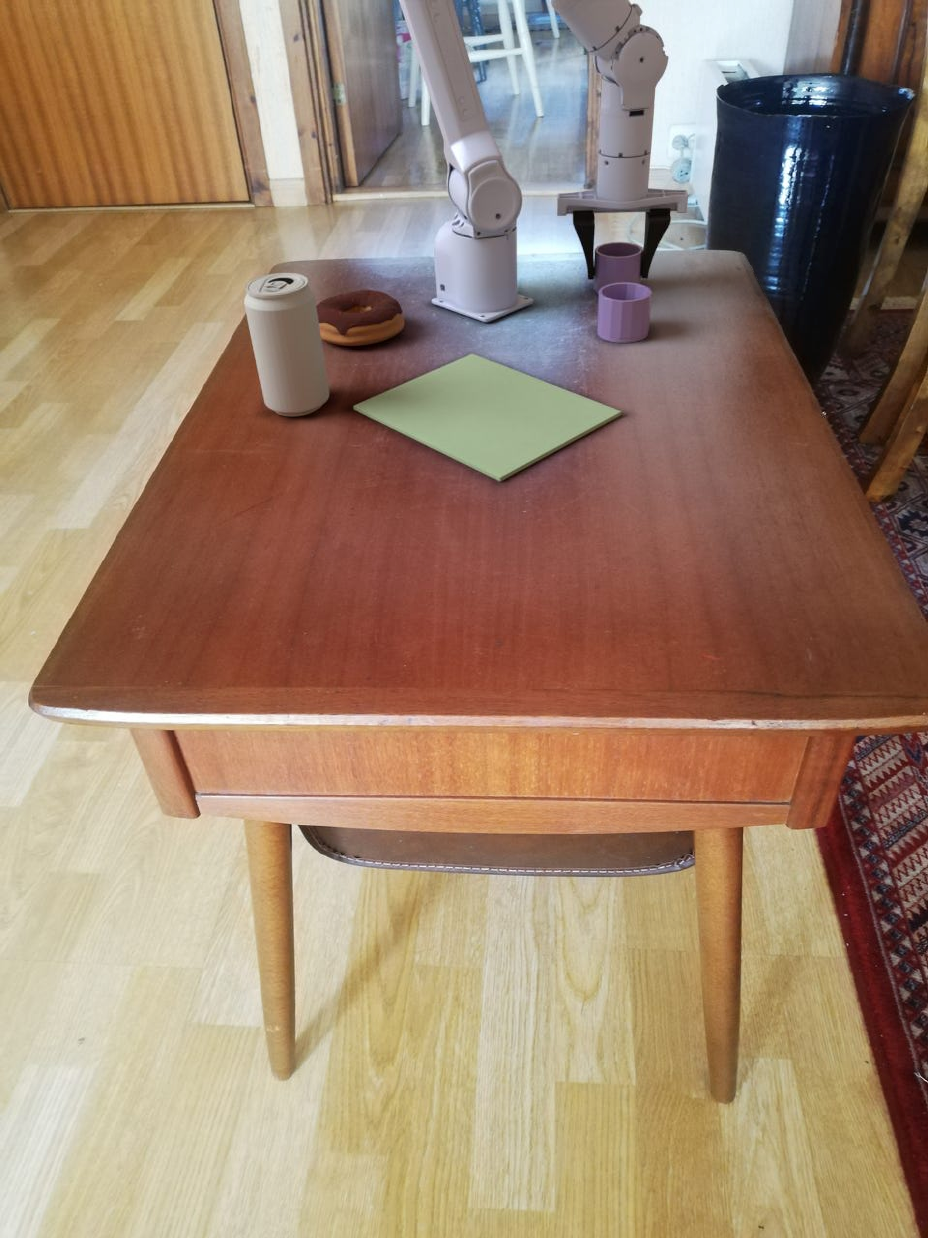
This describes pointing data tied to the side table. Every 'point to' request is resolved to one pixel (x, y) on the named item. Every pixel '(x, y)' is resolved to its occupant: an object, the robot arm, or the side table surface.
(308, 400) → the beverage can
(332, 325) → the donut
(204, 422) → the side table surface
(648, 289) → the faceted lilac cup
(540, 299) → the side table surface
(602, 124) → the robot arm
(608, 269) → the purple plastic cup
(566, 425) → the placemat
